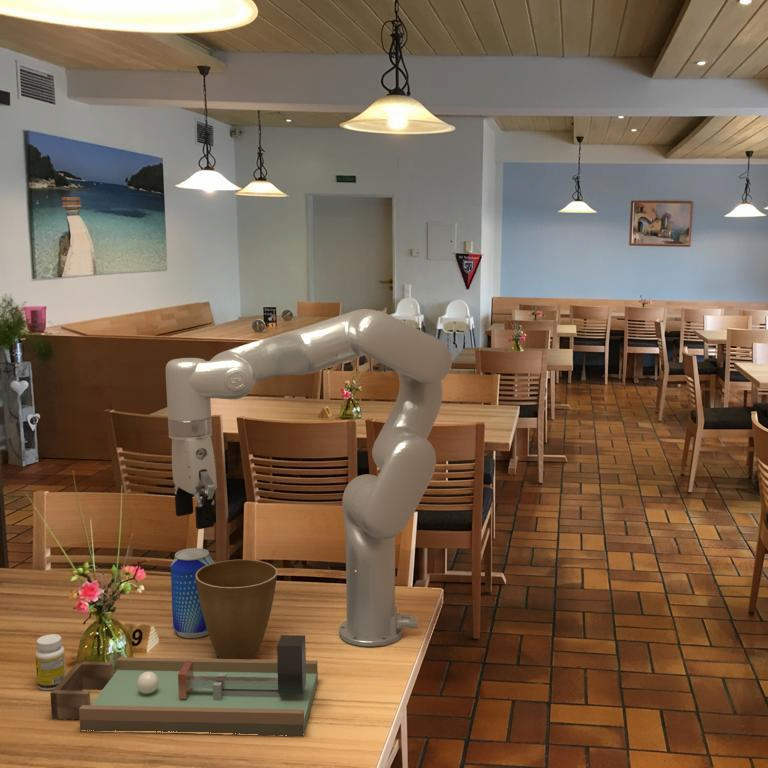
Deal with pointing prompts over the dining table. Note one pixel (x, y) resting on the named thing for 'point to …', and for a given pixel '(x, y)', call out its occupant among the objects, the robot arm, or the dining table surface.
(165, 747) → the dining table surface
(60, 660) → the supplement bottle
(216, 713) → the pitch
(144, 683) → the ball
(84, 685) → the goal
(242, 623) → the plant pot
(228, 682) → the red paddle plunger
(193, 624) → the beer can
